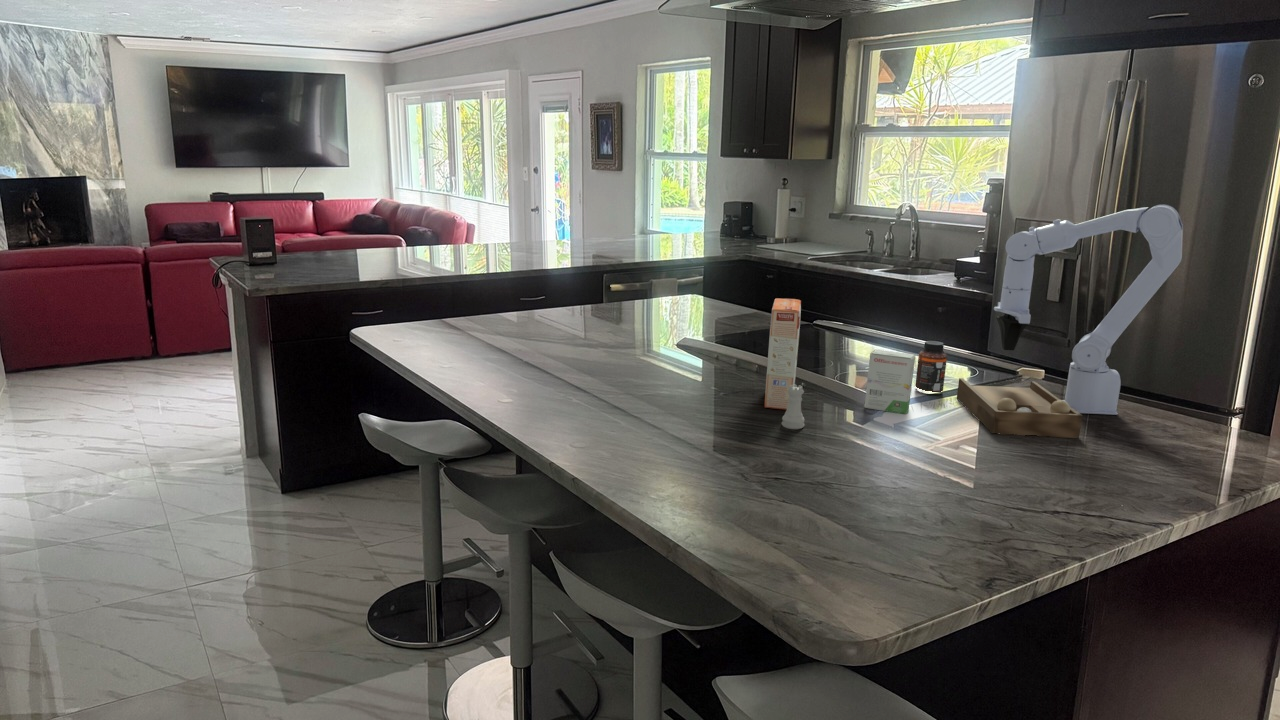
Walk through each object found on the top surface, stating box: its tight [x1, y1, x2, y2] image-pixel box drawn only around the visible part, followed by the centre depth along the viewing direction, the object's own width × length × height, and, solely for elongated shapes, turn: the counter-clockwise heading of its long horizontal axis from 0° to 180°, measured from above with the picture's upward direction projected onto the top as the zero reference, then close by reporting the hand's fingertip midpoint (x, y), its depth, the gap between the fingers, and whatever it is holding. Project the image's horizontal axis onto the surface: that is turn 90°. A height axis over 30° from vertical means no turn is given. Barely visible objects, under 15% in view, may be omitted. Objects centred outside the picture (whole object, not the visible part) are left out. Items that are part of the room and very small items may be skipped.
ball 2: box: [1050, 399, 1070, 414], centre depth 164 cm, size 3×3×3 cm
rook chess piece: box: [781, 384, 805, 430], centre depth 164 cm, size 4×4×8 cm
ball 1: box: [997, 398, 1016, 411], centre depth 165 cm, size 3×3×3 cm
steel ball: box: [1016, 407, 1032, 412], centre depth 170 cm, size 3×3×3 cm
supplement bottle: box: [914, 340, 948, 392], centre depth 190 cm, size 6×6×11 cm
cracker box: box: [764, 297, 802, 411], centre depth 179 cm, size 14×6×21 cm, turn 168°
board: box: [956, 377, 1083, 439], centre depth 174 cm, size 16×24×4 cm, turn 176°
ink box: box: [864, 349, 916, 415], centre depth 177 cm, size 9×5×12 cm, turn 65°
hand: (1008, 349), depth 187 cm, fingers closed
